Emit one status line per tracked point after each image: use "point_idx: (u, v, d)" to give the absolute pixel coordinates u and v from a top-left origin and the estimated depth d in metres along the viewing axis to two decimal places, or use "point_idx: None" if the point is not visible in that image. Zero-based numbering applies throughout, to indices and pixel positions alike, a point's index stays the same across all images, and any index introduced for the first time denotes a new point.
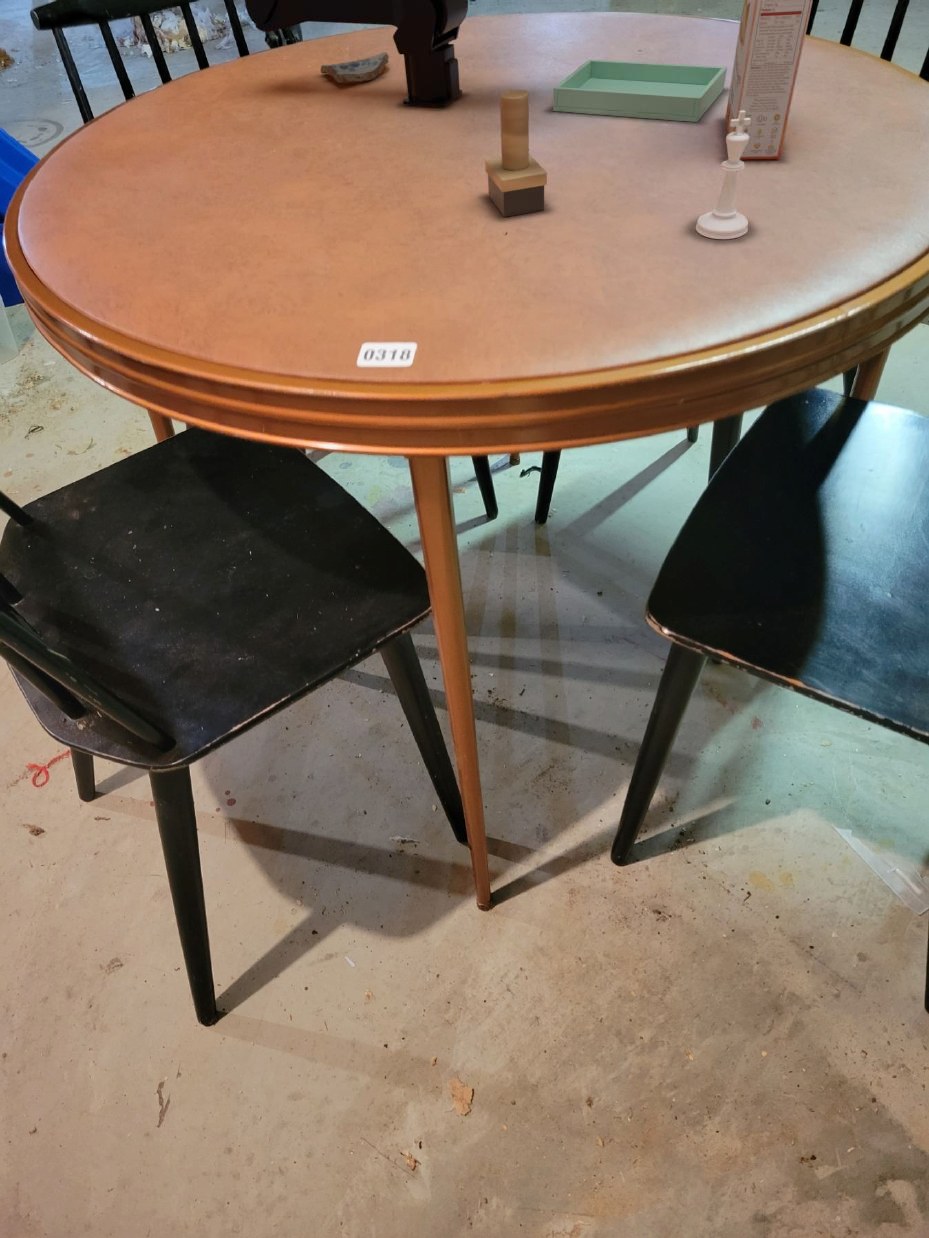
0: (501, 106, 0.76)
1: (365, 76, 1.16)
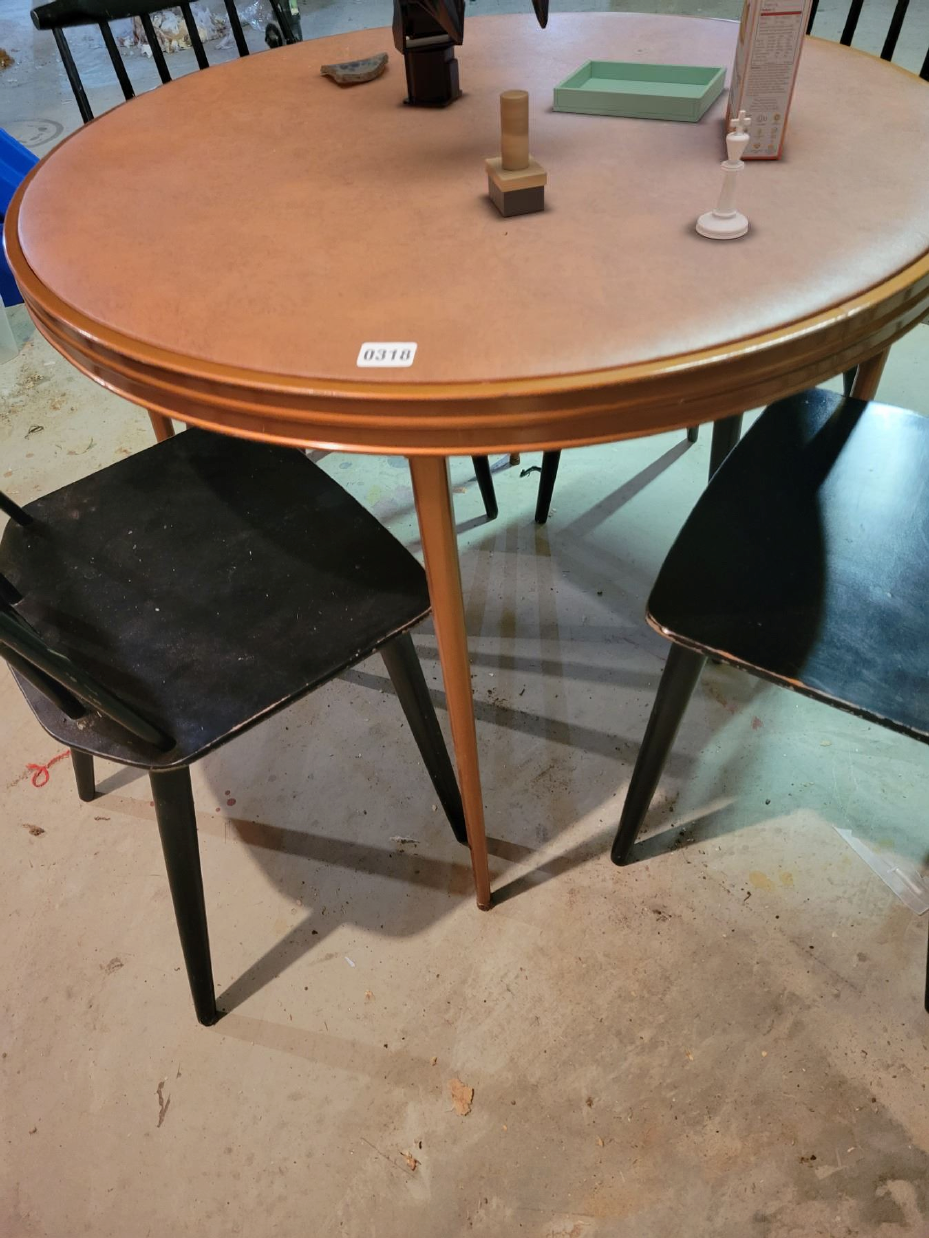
0: (501, 106, 0.76)
1: (365, 76, 1.16)
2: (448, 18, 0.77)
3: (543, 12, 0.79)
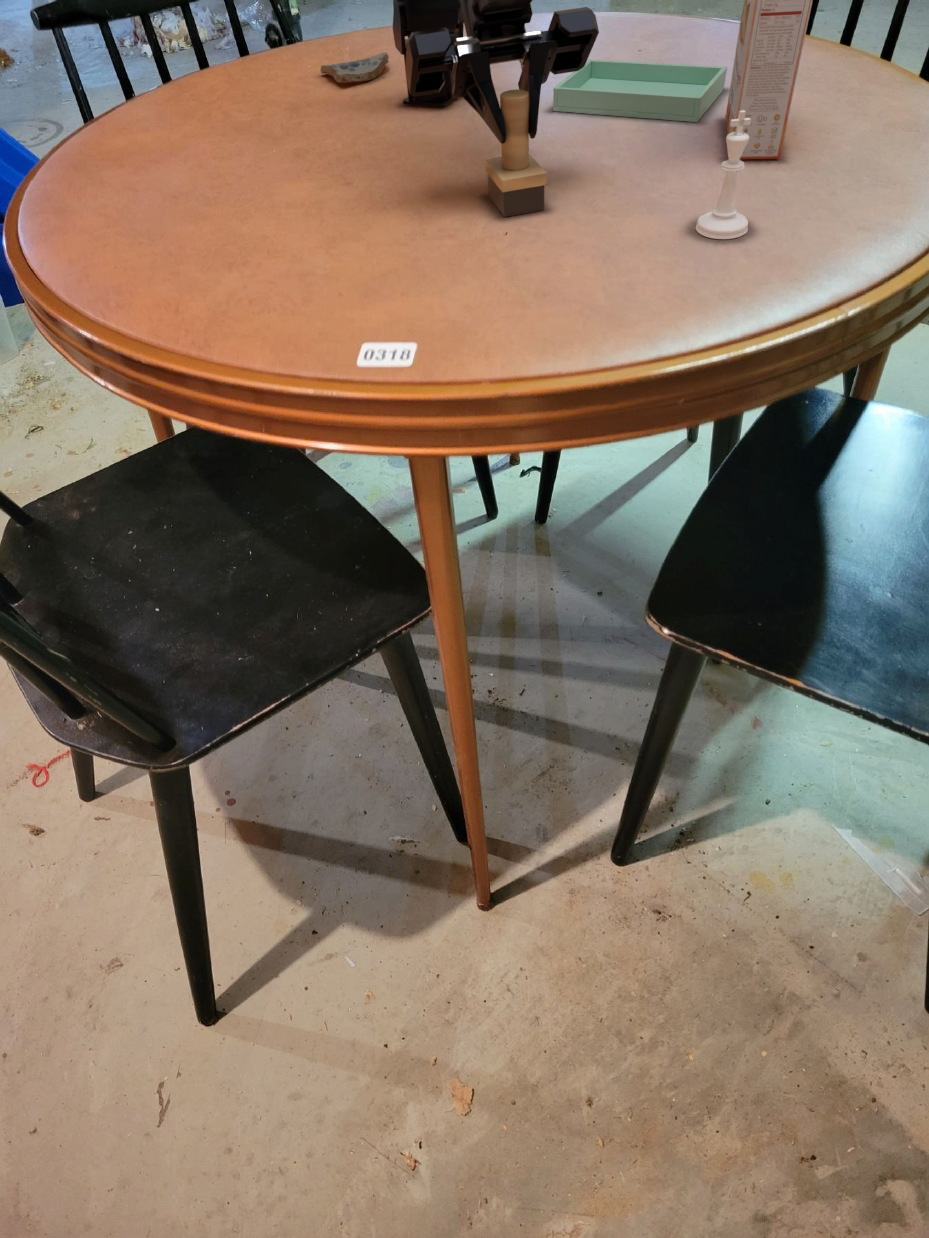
0: (501, 106, 0.76)
1: (365, 76, 1.16)
2: (493, 120, 0.76)
3: (532, 123, 0.77)
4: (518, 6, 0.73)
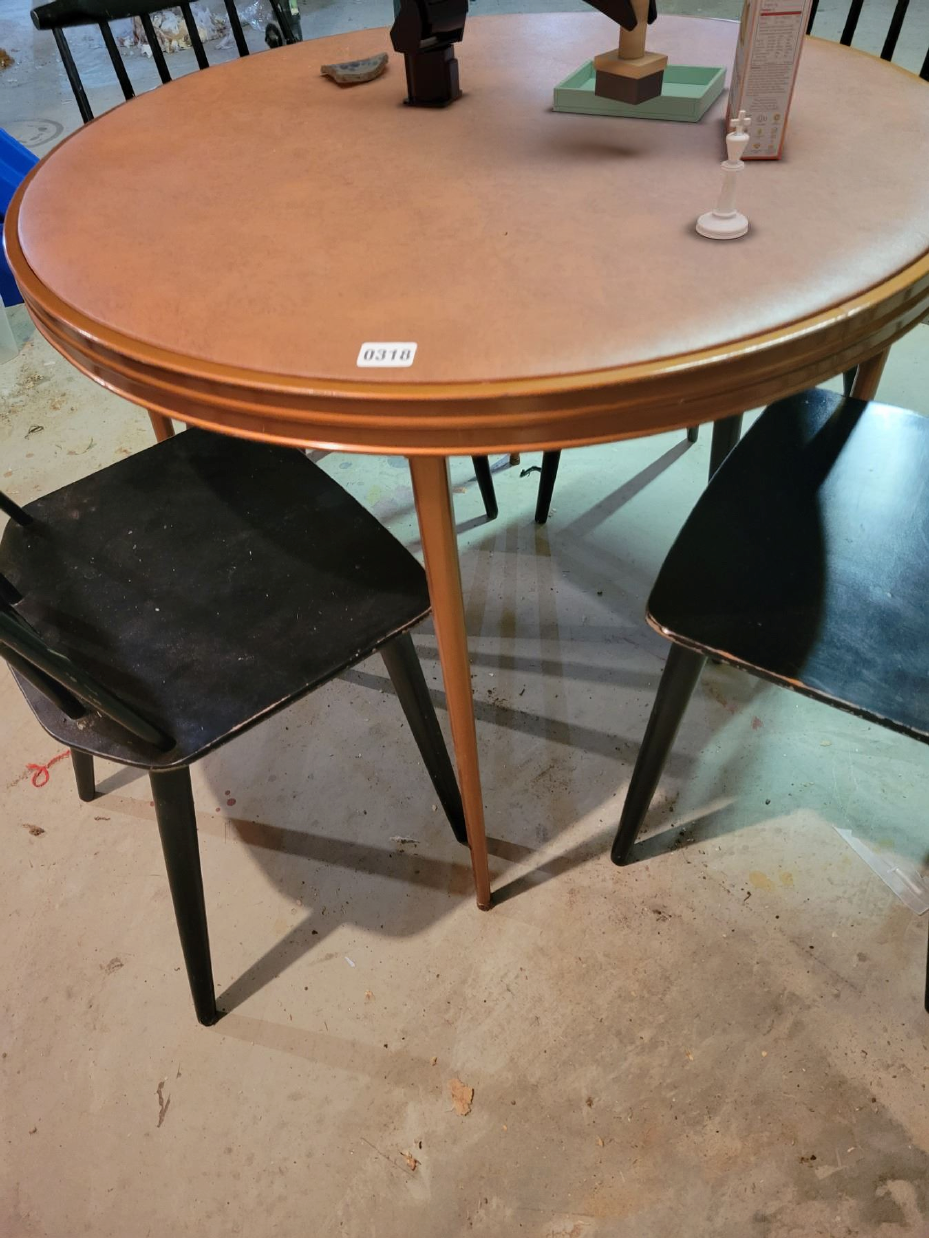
0: None
1: (365, 76, 1.16)
2: (623, 8, 0.79)
3: (653, 8, 0.81)
4: None
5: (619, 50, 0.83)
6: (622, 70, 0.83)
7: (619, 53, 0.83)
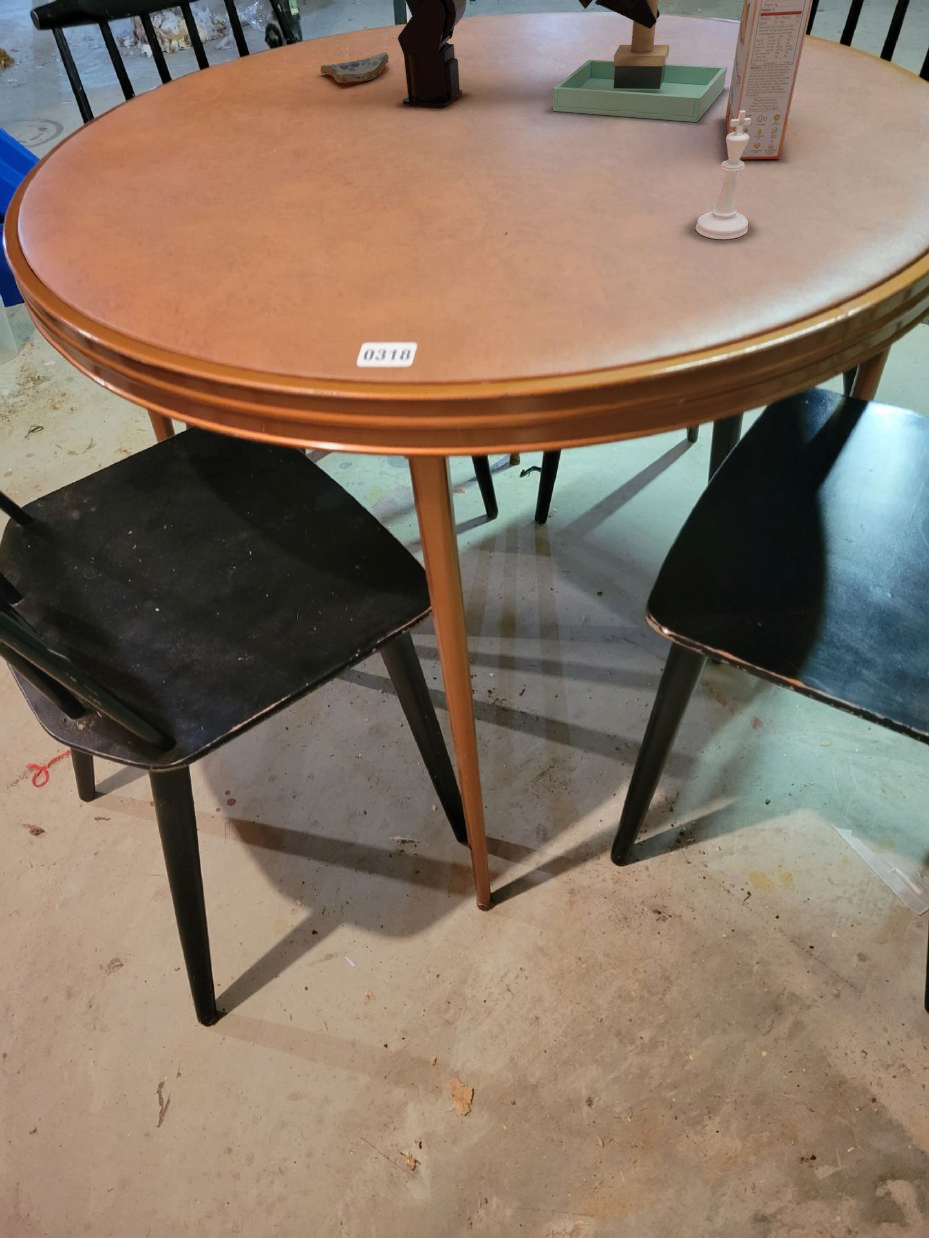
0: None
1: (365, 76, 1.16)
2: (646, 9, 0.94)
3: None
4: None
5: (635, 46, 0.97)
6: (646, 61, 0.97)
7: (636, 48, 0.98)
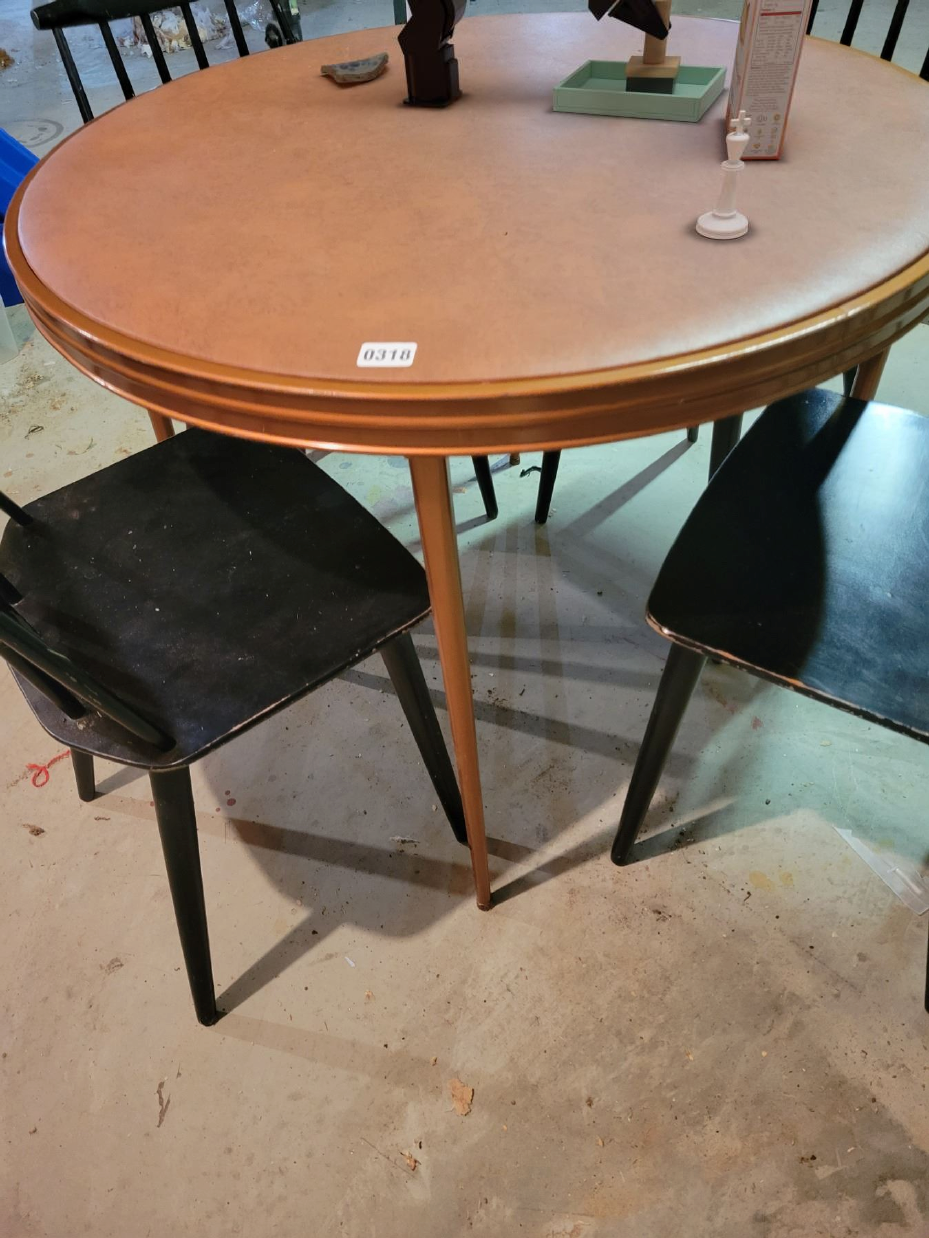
0: (659, 9, 0.94)
1: (365, 76, 1.16)
2: (658, 22, 0.94)
3: None
4: None
5: (647, 57, 0.98)
6: (658, 73, 0.98)
7: (647, 60, 0.98)
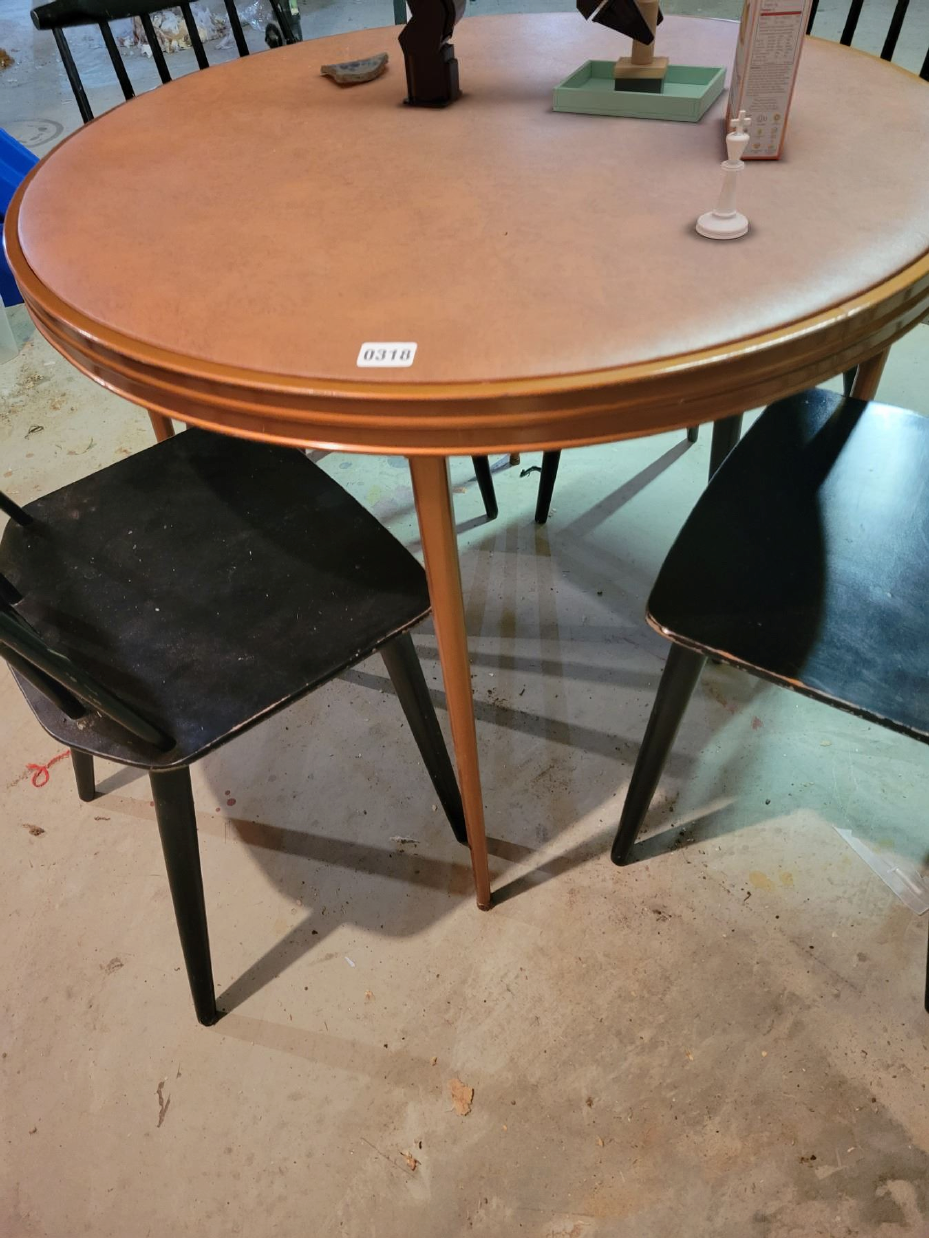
0: (646, 10, 0.94)
1: (365, 76, 1.16)
2: (643, 27, 0.92)
3: (660, 12, 0.99)
4: None
5: (635, 58, 0.98)
6: (646, 74, 0.98)
7: (636, 61, 0.99)
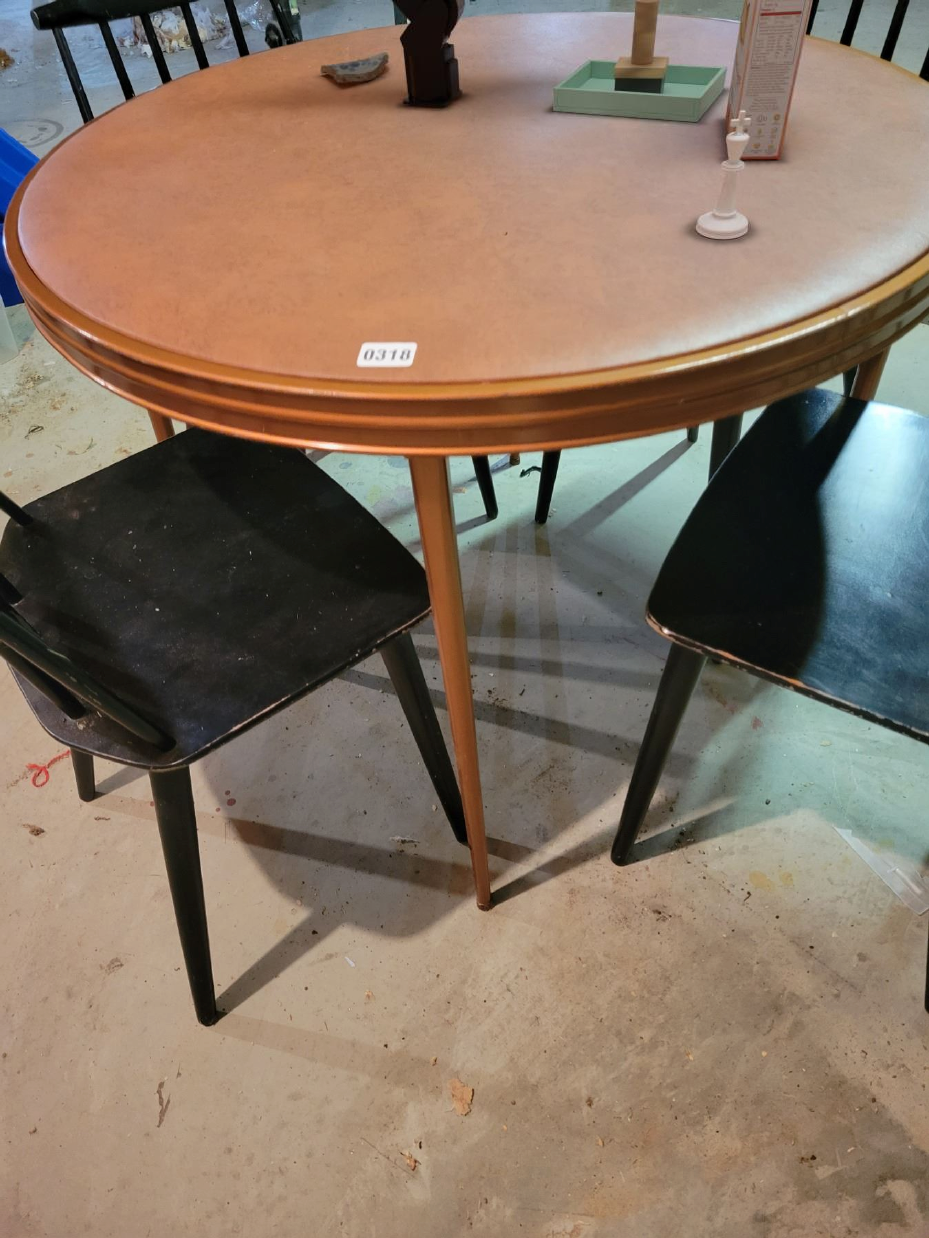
0: (646, 10, 0.94)
1: (365, 76, 1.16)
2: None
3: None
4: None
5: (635, 58, 0.98)
6: (646, 74, 0.98)
7: (636, 61, 0.99)
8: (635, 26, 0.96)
